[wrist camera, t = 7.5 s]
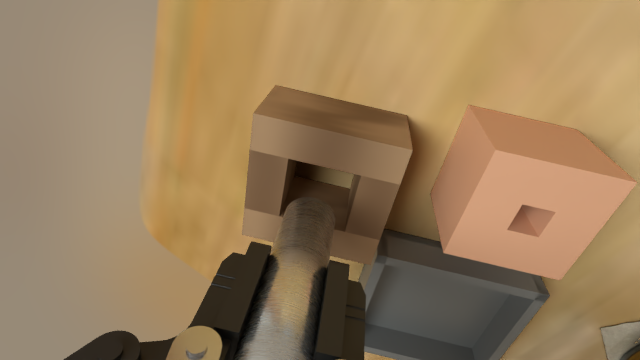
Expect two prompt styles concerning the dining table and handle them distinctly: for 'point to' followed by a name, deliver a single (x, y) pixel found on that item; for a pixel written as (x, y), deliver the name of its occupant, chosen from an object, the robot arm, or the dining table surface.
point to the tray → (443, 302)
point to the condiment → (622, 341)
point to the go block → (327, 151)
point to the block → (524, 193)
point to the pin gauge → (291, 286)
